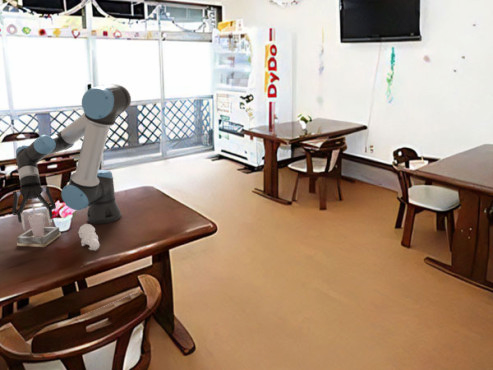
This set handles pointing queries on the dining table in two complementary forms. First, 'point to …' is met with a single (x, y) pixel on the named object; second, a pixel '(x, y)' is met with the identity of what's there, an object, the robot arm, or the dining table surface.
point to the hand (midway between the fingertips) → (37, 226)
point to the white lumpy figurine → (89, 236)
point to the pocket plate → (30, 240)
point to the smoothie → (37, 223)
